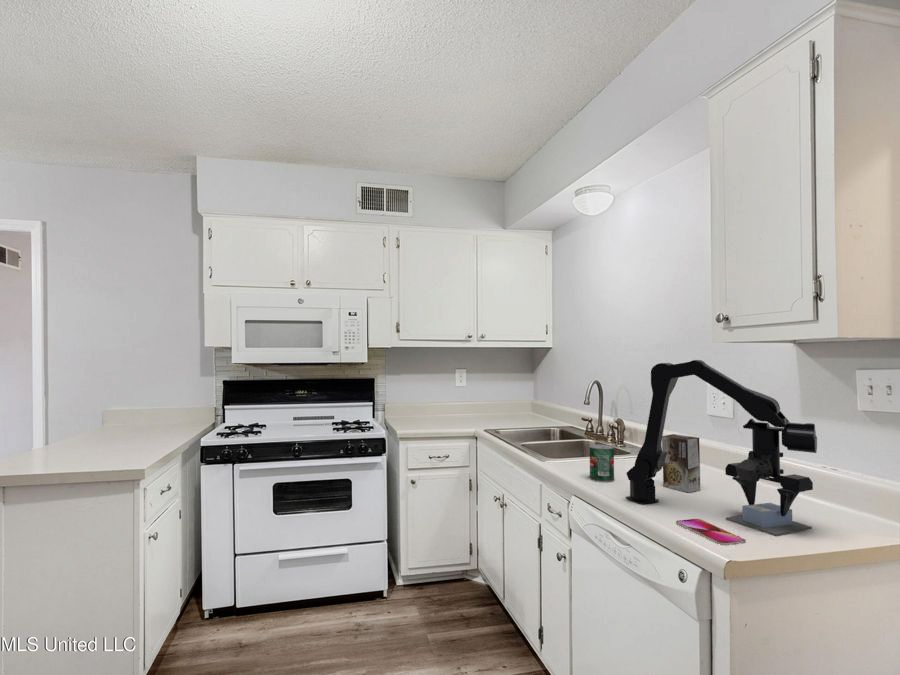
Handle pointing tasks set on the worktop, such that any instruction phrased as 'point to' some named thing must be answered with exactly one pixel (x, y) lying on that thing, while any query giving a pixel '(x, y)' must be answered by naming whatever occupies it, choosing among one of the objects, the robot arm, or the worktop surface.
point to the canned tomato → (602, 463)
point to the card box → (766, 515)
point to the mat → (771, 530)
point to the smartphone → (710, 532)
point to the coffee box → (681, 463)
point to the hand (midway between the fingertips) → (767, 511)
